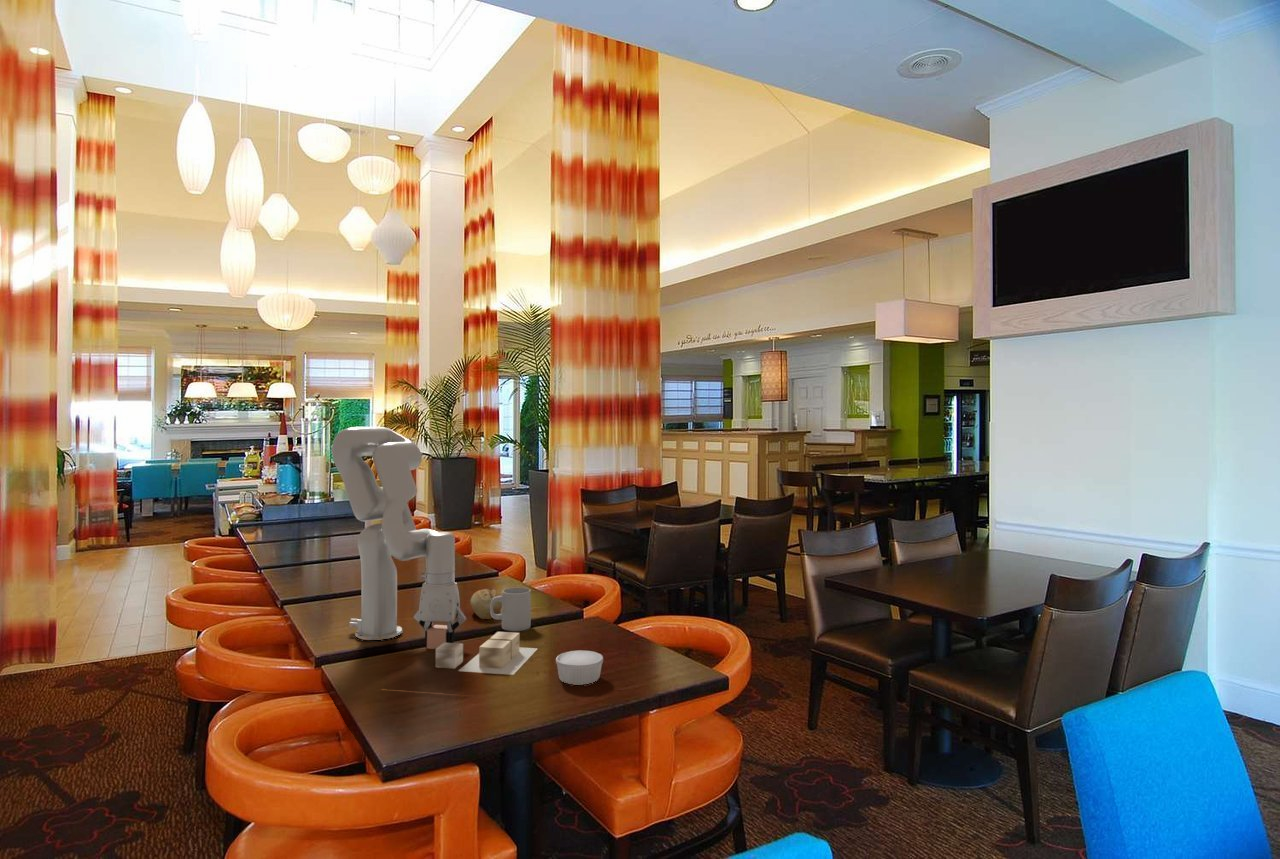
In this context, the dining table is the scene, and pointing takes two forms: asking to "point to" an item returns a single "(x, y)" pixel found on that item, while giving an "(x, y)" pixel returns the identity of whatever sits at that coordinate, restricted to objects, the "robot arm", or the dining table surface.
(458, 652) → the birch cube
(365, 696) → the dining table surface
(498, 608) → the bread roll
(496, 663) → the maple block
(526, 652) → the felt mat
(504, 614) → the mug
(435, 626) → the terracotta cube
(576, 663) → the ramekin
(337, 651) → the dining table surface
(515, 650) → the maple block
